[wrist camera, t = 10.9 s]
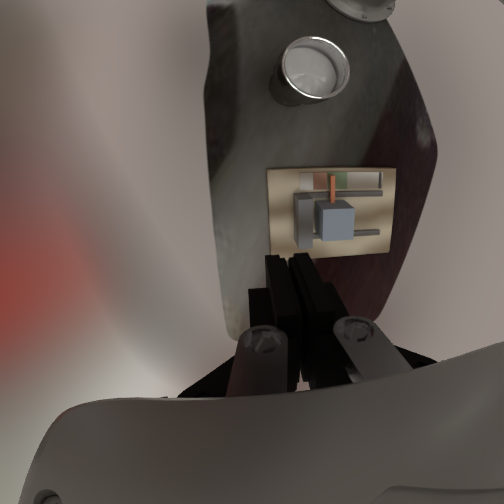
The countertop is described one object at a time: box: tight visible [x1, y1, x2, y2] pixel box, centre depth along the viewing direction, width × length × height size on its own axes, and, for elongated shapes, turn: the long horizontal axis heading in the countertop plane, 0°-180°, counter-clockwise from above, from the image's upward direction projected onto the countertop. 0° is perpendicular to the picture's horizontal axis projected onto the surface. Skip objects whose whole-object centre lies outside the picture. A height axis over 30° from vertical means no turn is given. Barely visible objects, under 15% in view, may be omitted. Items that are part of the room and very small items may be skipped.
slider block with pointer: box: [315, 175, 355, 242], centre depth 40 cm, size 8×4×4 cm, turn 4°
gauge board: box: [267, 167, 396, 260], centre depth 42 cm, size 14×20×5 cm
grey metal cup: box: [269, 36, 350, 107], centre depth 29 cm, size 7×7×15 cm
